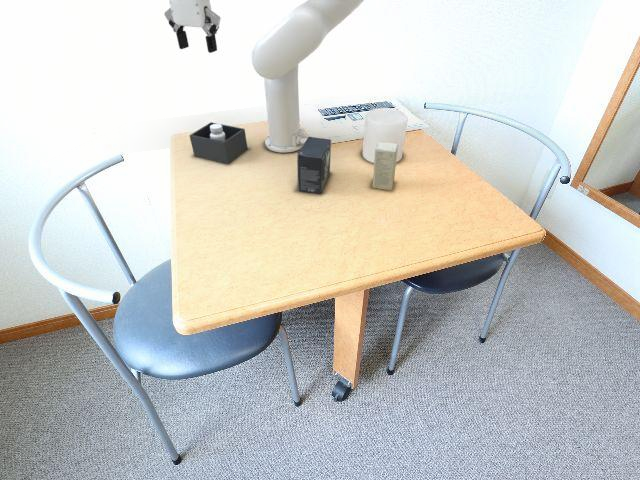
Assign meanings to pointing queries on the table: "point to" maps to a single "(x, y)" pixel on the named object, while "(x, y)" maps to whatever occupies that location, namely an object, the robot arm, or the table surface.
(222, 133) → the pill bottle
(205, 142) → the bin
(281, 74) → the robot arm
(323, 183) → the box
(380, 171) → the box
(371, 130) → the cup
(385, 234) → the table surface
